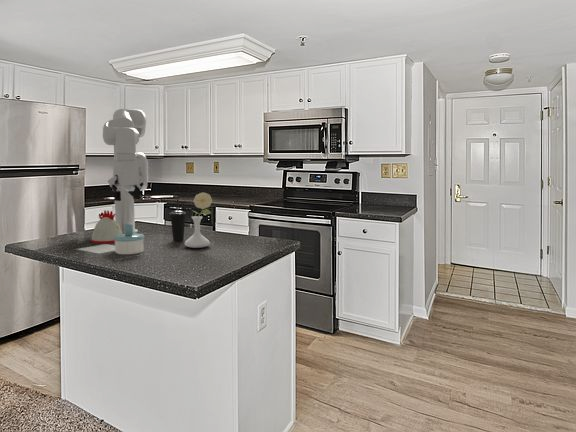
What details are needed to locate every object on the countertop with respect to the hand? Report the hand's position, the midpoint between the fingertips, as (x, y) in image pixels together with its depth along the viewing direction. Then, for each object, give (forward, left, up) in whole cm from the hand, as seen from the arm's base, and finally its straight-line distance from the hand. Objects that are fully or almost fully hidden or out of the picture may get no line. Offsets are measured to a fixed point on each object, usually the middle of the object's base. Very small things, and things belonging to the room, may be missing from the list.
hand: (127, 199), depth 176 cm
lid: (0, 0, -16) cm, 16 cm away
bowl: (0, 0, -22) cm, 22 cm away
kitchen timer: (-28, +10, -23) cm, 37 cm away
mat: (-14, -3, -22) cm, 26 cm away
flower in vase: (+16, +25, -23) cm, 37 cm away
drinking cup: (-3, +31, -23) cm, 38 cm away
